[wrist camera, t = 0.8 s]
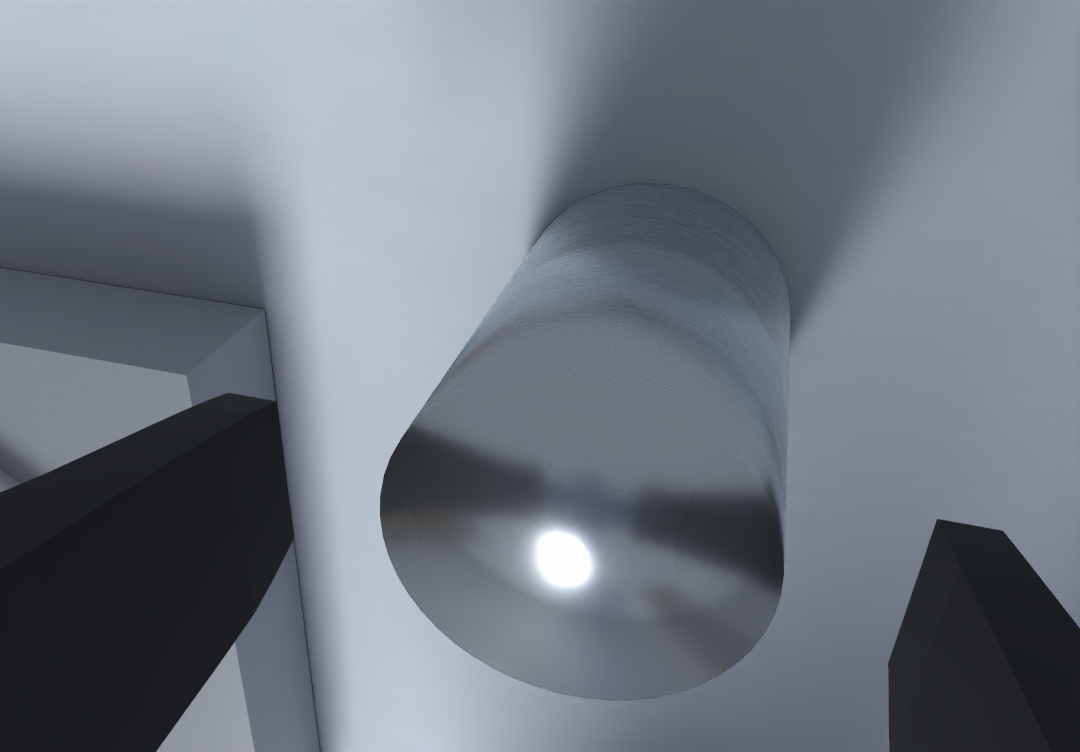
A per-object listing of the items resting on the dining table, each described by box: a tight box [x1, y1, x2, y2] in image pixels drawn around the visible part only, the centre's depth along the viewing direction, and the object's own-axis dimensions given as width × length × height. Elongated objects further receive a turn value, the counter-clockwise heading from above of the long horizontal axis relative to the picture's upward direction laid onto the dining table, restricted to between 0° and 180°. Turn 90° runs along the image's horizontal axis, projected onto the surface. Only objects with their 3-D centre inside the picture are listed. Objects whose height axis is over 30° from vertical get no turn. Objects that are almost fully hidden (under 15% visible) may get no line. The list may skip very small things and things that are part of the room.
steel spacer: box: [380, 183, 790, 700], centre depth 12 cm, size 4×4×6 cm
